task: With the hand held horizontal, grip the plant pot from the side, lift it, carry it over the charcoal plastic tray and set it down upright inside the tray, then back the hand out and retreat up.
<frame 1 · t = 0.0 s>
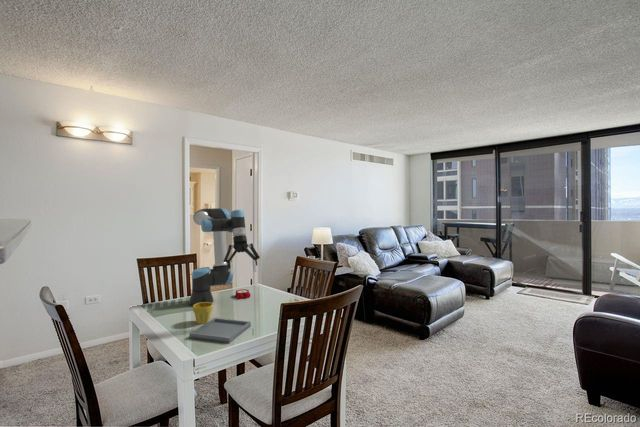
hand: (243, 273, 177), 28 cm above the table, tool tilted 20°, fingers open, 13 cm apart
plant pot: (203, 322, 178), on the table
alarm clock: (242, 297, 227), on the table
tray: (221, 331, 164), on the table
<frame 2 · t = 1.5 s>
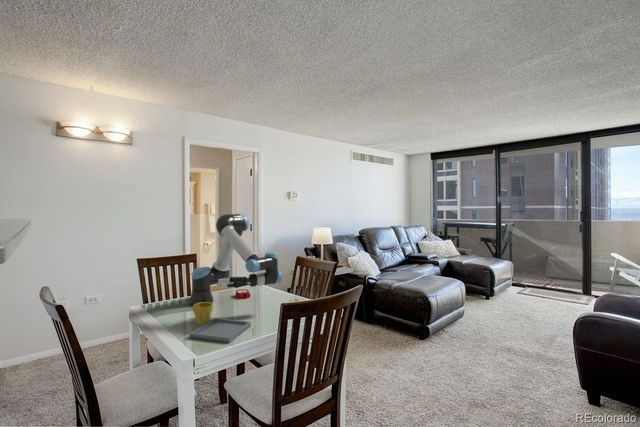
hand: (219, 283, 182), 21 cm above the table, tool horizontal, fingers open, 13 cm apart
nothing on the table moved.
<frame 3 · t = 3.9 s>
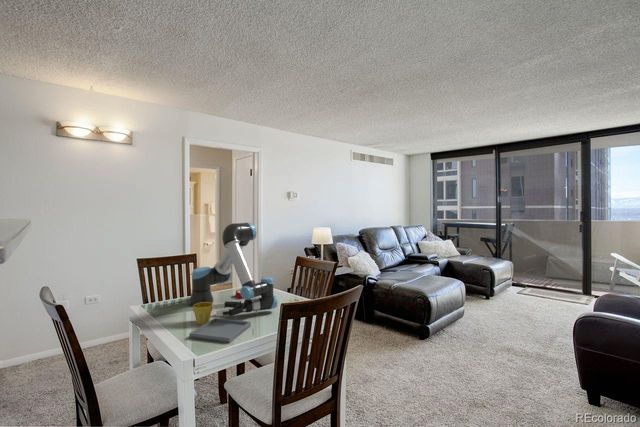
hand: (214, 310, 180), 6 cm above the table, tool horizontal, fingers open, 13 cm apart
nothing on the table moved.
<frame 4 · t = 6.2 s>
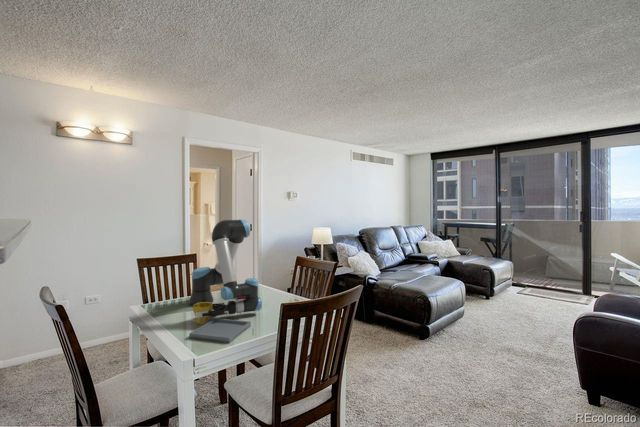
hand: (194, 312, 176), 6 cm above the table, tool horizontal, fingers closed on plant pot, 10 cm apart
plant pot: (203, 322, 178), on the table, touching gripper
everything else where it was.
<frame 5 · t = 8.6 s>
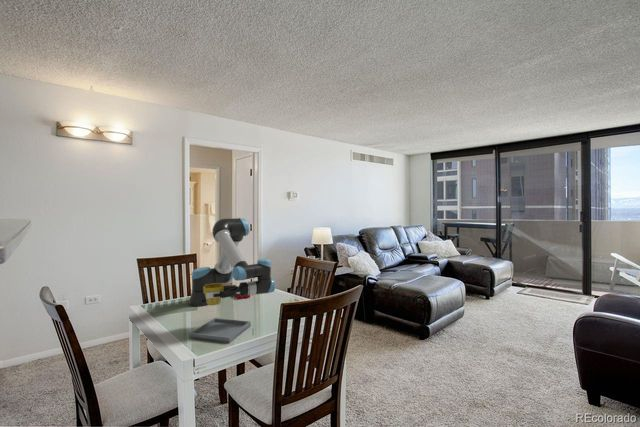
hand: (205, 293, 167), 19 cm above the table, tool horizontal, fingers closed on plant pot, 10 cm apart
plant pot: (213, 304, 169), point 13 cm above the table, touching gripper
everything else where it was.
when the fingers open (8 cm above the table, at t = 11.5 s): plant pot drops 1 cm, resting on tray.
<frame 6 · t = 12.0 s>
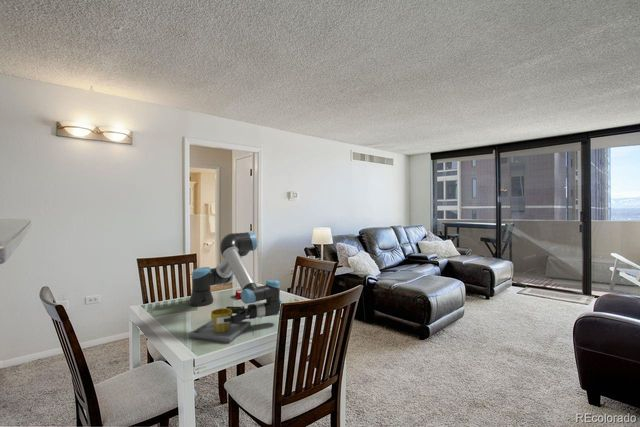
hand: (214, 316, 162), 8 cm above the table, tool horizontal, fingers open, 13 cm apart
plant pot: (221, 330, 164), point 1 cm above the table, touching tray
everything else where it was.
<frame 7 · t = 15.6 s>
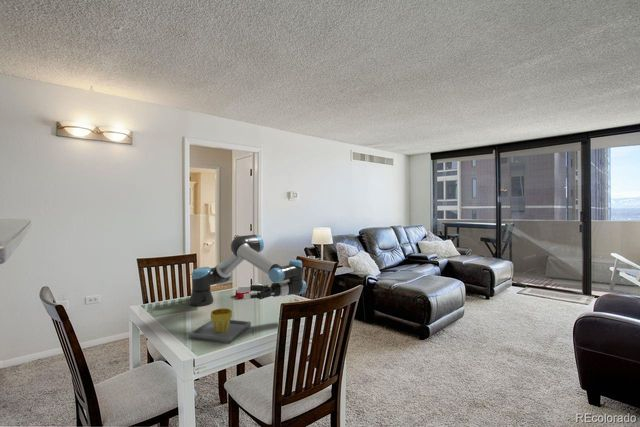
hand: (240, 293, 167), 19 cm above the table, tool horizontal, fingers open, 13 cm apart
nothing on the table moved.
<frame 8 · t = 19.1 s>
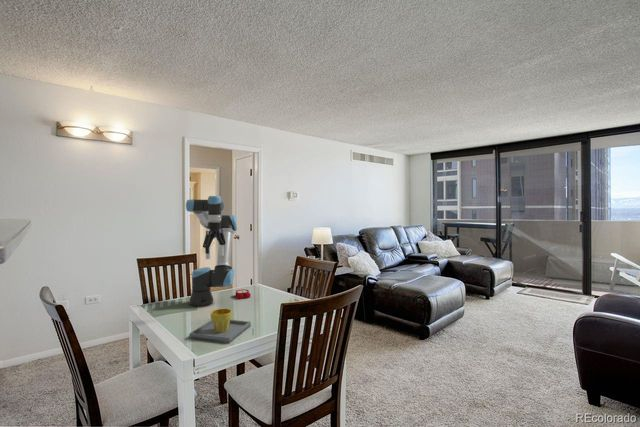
hand: (214, 257, 189), 35 cm above the table, tool pointing down, fingers open, 13 cm apart
nothing on the table moved.
at the end: plant pot inside the target area on the tray (0.1 cm from its centre), point 0.8 cm above the tray's base; plant pot tilted 0°; the gripper is holding nothing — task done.
